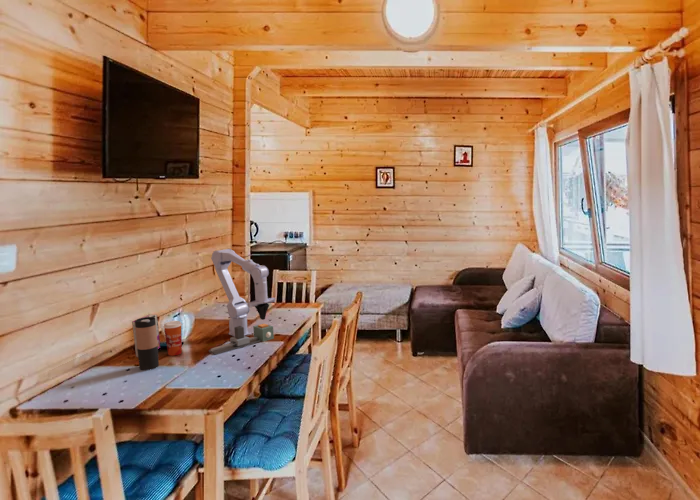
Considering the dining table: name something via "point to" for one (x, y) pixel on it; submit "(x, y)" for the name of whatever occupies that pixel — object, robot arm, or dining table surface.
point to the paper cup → (173, 337)
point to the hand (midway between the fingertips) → (262, 319)
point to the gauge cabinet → (264, 333)
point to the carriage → (239, 336)
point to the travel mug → (147, 343)
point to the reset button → (263, 325)
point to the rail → (232, 346)
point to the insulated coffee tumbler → (156, 331)
